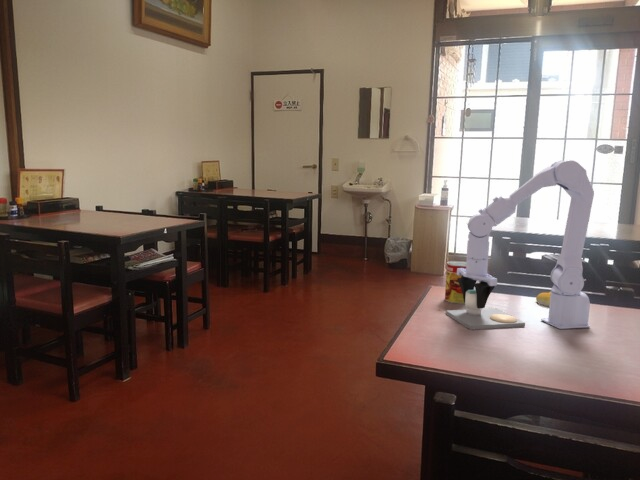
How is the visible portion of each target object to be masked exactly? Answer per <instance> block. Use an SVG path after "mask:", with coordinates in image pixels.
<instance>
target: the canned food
mask: <svg viewBox="0 0 640 480" xmlns="http://www.w3.org/2000/svg"><path fill="white" fill-rule="evenodd" d="M457 268H464V269H466V261H462V260H450V261H447V262H446V275H445V291H444V293H445V294H444V301H446V302H447V301H448V303H452V304H459V305H461V304H462V305H463V304H464V305H465V303H464V299H463V294H462V290H461V287H460V285H459V283H458V281H457V279H458V278H461V277H462V276H461V275H457Z"/></svg>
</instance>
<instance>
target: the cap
mask: <svg viewBox="0 0 640 480" xmlns="http://www.w3.org/2000/svg"><path fill="white" fill-rule="evenodd" d="M464 307H465V308H466V309H467V308H470V309H479V308H477V295H476V289H474V290H468V291H466V297H465V304H464ZM480 309H484V308H480Z"/></svg>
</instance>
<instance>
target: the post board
mask: <svg viewBox="0 0 640 480" xmlns="http://www.w3.org/2000/svg"><path fill="white" fill-rule="evenodd" d="M445 315H447V316H448V317H450V318H451V319H452V320H455V321H456V322H458V323H460V324H461V325H463V326H464V327H466V328H467V329H469V330H484V329H485V330H486V329H488V330H489V329H503V328H505V329H506V328H521V327H526V322H524V321H522V320H520V319H519V318H517V317H515V316H513V315H510V314H509V313H508V312H505V311H503V310H501V309H498V308H497V307H493V308H492V307H491V308H490V307H488V308H483V309H470V308H467V307H466V309H451V310H450V309H447V310H445Z"/></svg>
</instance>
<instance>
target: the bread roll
mask: <svg viewBox="0 0 640 480" xmlns="http://www.w3.org/2000/svg"><path fill="white" fill-rule="evenodd" d="M550 295H551V291H549V292H541V293H540V292H539V293H538V295H536V298H535V300H536V302H537V303H538V304H539V305H541V306H543V307H544V306H545V307H549V306H550Z"/></svg>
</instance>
